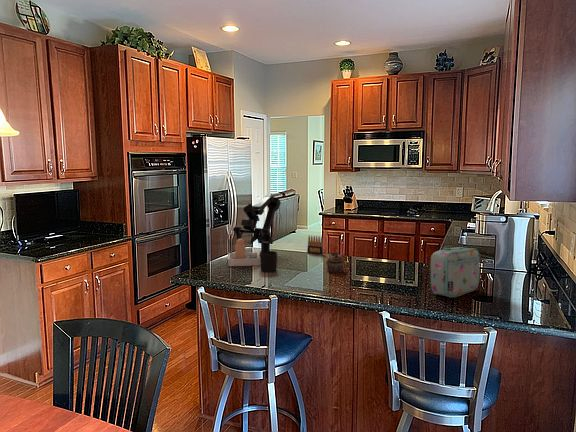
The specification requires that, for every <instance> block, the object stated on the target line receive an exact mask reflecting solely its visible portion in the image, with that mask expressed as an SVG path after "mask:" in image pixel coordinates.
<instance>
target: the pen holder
mask: <svg viewBox="0 0 576 432" xmlns="http://www.w3.org/2000/svg"><path fill="white" fill-rule="evenodd" d="M259 257H260V265H259V266H260V271H261V272H263V273H274V272H276V271H277V269H278V268H277V266H278V252H277V251H273V250H270V251H267V252H265V253H261V252H260V251H259Z"/></svg>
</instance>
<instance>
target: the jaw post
mask: <svg viewBox="0 0 576 432" xmlns="http://www.w3.org/2000/svg"><path fill="white" fill-rule="evenodd" d="M235 242H236V243H235V245H234V253H235V259H245V258H246V257H245V253H246V243H245V238H241V239H238V240H237V239H236V241H235Z"/></svg>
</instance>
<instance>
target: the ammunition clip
mask: <svg viewBox="0 0 576 432" xmlns="http://www.w3.org/2000/svg"><path fill="white" fill-rule="evenodd" d="M307 239H308V240H307V254H310V253H312V254H311V255H320V254H322V255H324V243H323V236H322V235H321V236H320V235H310V234H309V235H308V238H307Z"/></svg>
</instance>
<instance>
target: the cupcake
mask: <svg viewBox="0 0 576 432" xmlns="http://www.w3.org/2000/svg"><path fill="white" fill-rule="evenodd" d="M327 256H328V257H327V259H326V261H325V263H326V268H327V271H328V272H329V271H330V272H329V273H335V272H336V273H341V272H340V271H342V272H343V267H344V260H343V258H342V256H341V254H339V253H338V252H330V253H329V254H328V255H327Z"/></svg>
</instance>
